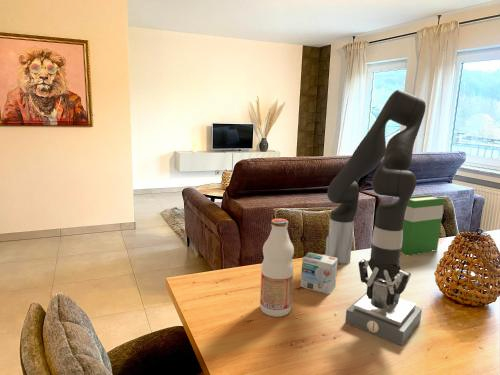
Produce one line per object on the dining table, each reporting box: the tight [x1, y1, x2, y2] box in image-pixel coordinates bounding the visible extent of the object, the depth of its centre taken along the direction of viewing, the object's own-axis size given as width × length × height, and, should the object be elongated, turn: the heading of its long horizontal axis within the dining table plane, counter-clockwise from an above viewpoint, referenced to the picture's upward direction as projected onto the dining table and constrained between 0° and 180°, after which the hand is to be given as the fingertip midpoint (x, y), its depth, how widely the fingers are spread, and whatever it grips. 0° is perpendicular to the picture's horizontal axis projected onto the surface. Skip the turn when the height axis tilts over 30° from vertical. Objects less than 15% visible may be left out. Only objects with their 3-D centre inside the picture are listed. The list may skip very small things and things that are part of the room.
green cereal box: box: [401, 194, 446, 256], centre depth 164 cm, size 18×7×24 cm, turn 114°
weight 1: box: [371, 278, 390, 309], centre depth 103 cm, size 5×5×7 cm
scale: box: [344, 292, 423, 346], centre depth 108 cm, size 16×16×4 cm
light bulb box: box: [300, 251, 338, 295], centre depth 128 cm, size 11×7×11 cm, turn 62°
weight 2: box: [395, 274, 401, 303], centre depth 110 cm, size 5×5×7 cm
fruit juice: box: [259, 218, 295, 318], centre depth 110 cm, size 9×9×28 cm
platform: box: [353, 294, 417, 326], centre depth 108 cm, size 13×13×1 cm
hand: (380, 301), depth 104 cm, fingers closed on weight 1, 5 cm apart
